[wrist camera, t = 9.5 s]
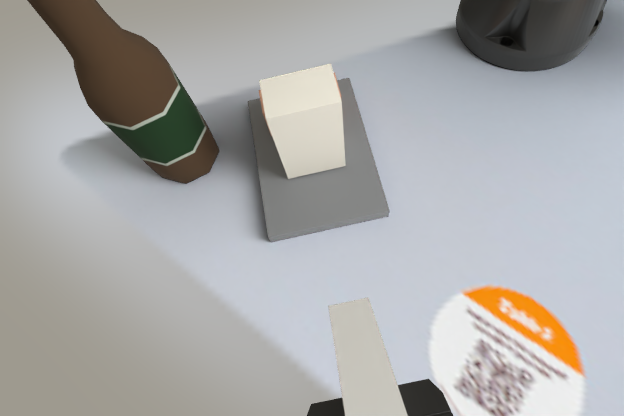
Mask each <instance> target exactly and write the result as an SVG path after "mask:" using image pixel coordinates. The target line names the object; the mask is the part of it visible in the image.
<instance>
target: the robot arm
mask: <svg viewBox="0 0 624 416" xmlns="http://www.w3.org/2000/svg"><path fill="white" fill-rule="evenodd" d="M606 1H607V0H461V2H460V5H459V9H458V12H457V16H456V27H457V31H458V34H459V36H460V38H461V40H462V41H463V43H464V44H465V45H466V46H467V47H468V48H469V49H470V50H471V51H472V52H473V53H474V54H475V55H477V56H478V57H480V58H482V59H483V60H485V61H487V62H489V63H492V64H494V65H497V66H500V67H503V68H507V69H513V70H521V71H537V70H545V69H550V68H554V67H557V66H560V65H563V64H565V63H567V62H569V61H571V60H572V59H574V58H575V57H577V56H578V55H579V54H580V53H581V52H582V51H583V50H584V49H585V47H586V46H587V44H588V43H589V42H590V40H591V39H592V37H593V36H594V35H595V33H596V32H597V30H598V28H599V26H600V23H601V20H602V16H603V9H604V6H605V4H606ZM328 307H329V313H330V320H331V326H332V333H333V339H334V346H335V353H336V359H337V366H338V372H339V379H340V385H341V392H342V398H339V399H334V400H329V401H324V402H319V403H314V404H311V406H310V409H309V412H308V414H307V416H453V414H452V413H451V410H450V408H449V405H448V403H447V401H446V399H445V397H444V395H443V392H442V391H441V390H440V389H439V388H437V387H436V386H435V385H434V384H433V383H432V382H431V381H430V380H429V379H426V380H421V381H416V382H411V383H406V384H402V385H397V382H396V379H395V376H394V373H393V370H392V367H391V364H390V361H389V358H388V355H387V352H386V349H385V346H384V343H383V340H382V337H381V334H380V331H379V328H378V325H377V322H376V319H375V316H374V313H373V310H372V307H371V304H370V301H369V298H364V299H359V300H354V301H350V302H345V303H340V304H335V305H331V306H328Z"/></svg>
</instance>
